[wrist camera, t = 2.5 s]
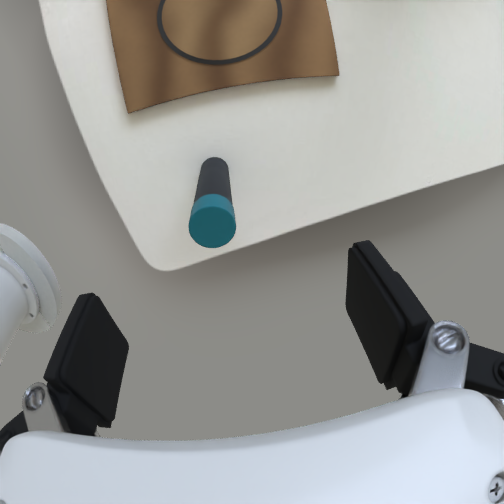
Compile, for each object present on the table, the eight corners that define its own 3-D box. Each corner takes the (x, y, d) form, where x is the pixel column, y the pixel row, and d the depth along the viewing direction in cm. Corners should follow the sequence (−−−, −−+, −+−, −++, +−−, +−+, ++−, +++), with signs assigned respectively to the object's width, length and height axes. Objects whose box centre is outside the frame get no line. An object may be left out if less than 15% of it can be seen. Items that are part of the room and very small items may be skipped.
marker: (203, 186, 25) (195, 252, 16) (197, 160, 23) (182, 211, 14) (231, 180, 25) (239, 243, 16) (225, 153, 23) (230, 201, 14)
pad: (129, 113, 20) (127, 113, 20) (106, -18, 13) (103, -20, 12) (337, 75, 20) (340, 75, 20) (309, -52, 13) (311, -55, 12)
